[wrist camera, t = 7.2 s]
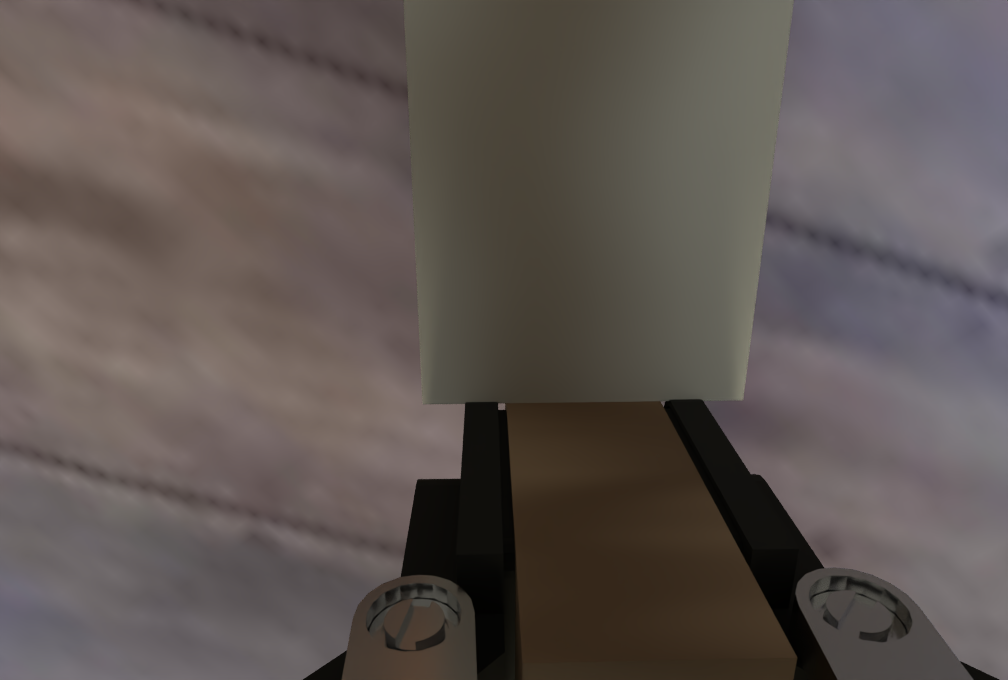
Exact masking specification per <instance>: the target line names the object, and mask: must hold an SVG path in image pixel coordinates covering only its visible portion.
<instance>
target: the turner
mask: <svg viewBox="0 0 1008 680" xmlns="http://www.w3.org/2000/svg"><path fill="white" fill-rule="evenodd" d="M793 3H794V0H404V20H405V41H406V62H407V84H408V105H409V126H410V147H411V168H412V189H413V210H414V232H415V253H416V274H417V295H418V316H419V337H420V359H421V380H422V401H423V404H465V403H466V402H498V403H505V410H507V424H508V440H509V457H510V474H511V490H512V507H513V524H514V540H515V680H793V679H794V673H795V668H796V662H797V656H796V654H795V652H794V650H793V649H792V647H791V645H790V643H789V641H788V639H787V637H786V635H785V634H784V632H783V630H782V628H781V626H780V624H779V622H778V621H777V619H776V617H775V615H774V613H773V611H772V609H771V607H770V606H769V604H768V602H767V600H766V598H765V596H764V594H763V592H762V591H761V589H760V587H759V585H758V583H757V581H756V579H755V577H754V576H753V574H752V572H751V570H750V568H749V566H748V564H747V563H746V561H745V559H744V557H743V555H742V553H741V551H740V549H739V548H738V546H737V544H736V542H735V540H734V538H733V536H732V534H731V533H730V531H729V529H728V527H727V525H726V523H725V521H724V520H723V518H722V516H721V514H720V512H719V510H718V508H717V506H716V505H715V503H714V501H713V499H712V497H711V495H710V493H709V491H708V490H707V488H706V486H705V484H704V482H703V480H702V478H701V476H700V475H699V473H698V471H697V469H696V467H695V465H694V463H693V462H692V460H691V458H690V456H689V454H688V452H687V450H686V448H685V447H684V445H683V443H682V441H681V439H680V437H679V435H678V433H677V432H676V430H675V428H674V426H673V424H672V422H671V420H670V419H669V417H668V415H667V413H666V411H665V409H664V407H663V405H662V404H661V402H660V401H669V400H674V399H701V400H702V401H721V400H743V396H744V388H745V380H746V372H747V365H748V357H749V349H750V341H751V333H752V325H753V317H754V310H755V302H756V294H757V286H758V278H759V270H760V262H761V254H762V247H763V239H764V231H765V223H766V215H767V207H768V199H769V191H770V184H771V176H772V168H773V160H774V152H775V144H776V136H777V128H778V121H779V113H780V105H781V97H782V89H783V81H784V73H785V65H786V58H787V50H788V42H789V34H790V26H791V18H792V10H793Z"/></svg>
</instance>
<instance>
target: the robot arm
mask: <svg viewBox="0 0 1008 680" xmlns="http://www.w3.org/2000/svg"><path fill="white" fill-rule="evenodd" d="M664 409H665V411H666V413H667V415H668V417H669V419H670V420H671V422H672V424H673V426H674V428H675V430H676V432H677V433H678V435H679V437H680V439H681V441H682V443H683V445H684V447H685V448H686V450H687V452H688V454H689V456H690V458H691V460H692V462H693V463H694V465H695V467H696V469H697V471H698V473H699V475H700V476H701V478H702V480H703V482H704V484H705V486H706V488H707V490H708V491H709V493H710V495H711V497H712V499H713V501H714V503H715V505H716V506H717V508H718V510H719V512H720V514H721V516H722V518H723V520H724V521H725V523H726V525H727V527H728V529H729V531H730V533H731V534H732V536H733V538H734V540H735V542H736V544H737V546H738V548H739V549H740V551H741V553H742V555H743V557H744V559H745V561H746V563H747V564H748V566H749V568H750V570H751V572H752V574H753V576H754V577H755V579H756V581H757V583H758V585H759V587H760V589H761V591H762V592H763V594H764V596H765V598H766V600H767V602H768V604H769V606H770V607H771V609H772V611H773V613H774V615H775V617H776V619H777V621H778V622H779V624H780V626H781V628H782V630H783V632H784V634H785V635H786V637H787V639H788V641H789V643H790V645H791V647H792V649H793V650H794V652H795V654H796V656H797V662H796V668H795V673H794V679H793V680H999V679H997V678H995V677H993V676H990V675H988V674H986V673H984V672H982V671H980V670H978V669H976V668H974V667H971V666H969V665H967V664H965V663H963V662H961V661H959V660H958V658H957V657H956V656H955V654H954V653H953V652H952V650H951V649H950V647H949V646H948V645H947V643H946V642H945V641H944V639H943V638H942V637H941V635H940V634H939V633H938V631H937V630H936V629H935V627H934V626H933V625H932V623H931V622H930V621H929V619H928V618H927V617H926V615H925V614H924V613H923V611H922V610H921V609H920V607H919V606H918V605H917V604H916V603H915V602H914V601H913V600H912V599H911V598H910V597H909V596H908V595H907V594H906V593H904V592H903V591H901V590H900V589H898V588H897V587H895V586H894V585H892V584H891V583H889V582H887V581H885V580H882V579H880V578H878V577H876V576H874V575H871V574H868V573H864V572H860V571H857V570H853V569H845V568H835V567H833V568H824V567H823V565H822V564H821V562H820V561H819V559H818V558H817V556H816V555H815V553H814V552H813V550H812V549H811V547H810V546H809V545H808V543H807V542H806V540H805V539H804V537H803V536H802V534H801V533H800V531H799V530H798V528H797V527H796V525H795V524H794V522H793V521H792V519H791V518H790V516H789V515H788V513H787V512H786V510H785V509H784V508H783V506H782V505H781V503H780V502H779V500H778V499H777V497H776V496H775V494H774V493H773V491H772V490H771V488H770V487H769V485H768V484H767V482H766V481H765V480H764V479H763V478H762V477H761V476H760V475H756V474H750V472H749V471H748V469H747V468H746V466H745V465H744V463H743V462H742V460H741V459H740V457H739V456H738V454H737V453H736V451H735V449H734V448H733V446H732V445H731V443H730V442H729V440H728V439H727V437H726V436H725V434H724V433H723V431H722V429H721V428H720V426H719V425H718V423H717V422H716V420H715V419H714V417H713V416H712V414H711V413H710V411H709V409H708V408H707V406H706V405H705V403H704V402H703V401H702V400H701V399H674V400H669V401H666V402H665V405H664ZM303 680H515V540H514V524H513V507H512V490H511V474H510V457H509V440H508V424H507V410H498V402H466V403H465V418H464V434H463V451H462V467H461V479H418V480H417V484H416V489H415V495H414V501H413V507H412V513H411V519H410V525H409V531H408V537H407V543H406V549H405V555H404V561H403V567H402V573H401V577H399V578H397V579H394V580H391V581H388V582H386V583H383V584H381V585H380V586H378V587H377V588H375V589H374V590H372V591H371V592H369V593H368V594H367V595H366V596H365V598H364V599H363V600H362V601H361V602H360V603H359V604H358V607H357V609H356V612H355V614H354V617H353V620H352V626H351V631H350V637H349V642H348V648H347V651H345V652H344V653H342V654H341V655H339V656H338V657H336V658H335V659H333V660H332V661H330V662H329V663H327V664H326V665H324V666H323V667H321V668H320V669H318V670H317V671H315V672H314V673H312V674H311V675H309V676H308V677H306V678H305V679H303Z"/></svg>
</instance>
